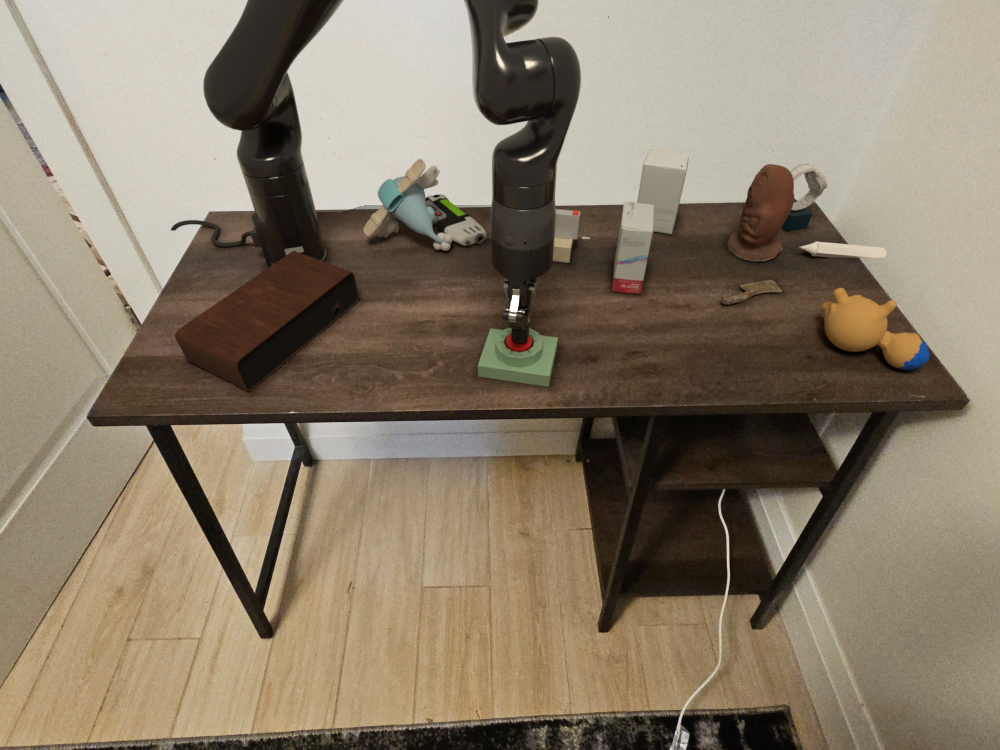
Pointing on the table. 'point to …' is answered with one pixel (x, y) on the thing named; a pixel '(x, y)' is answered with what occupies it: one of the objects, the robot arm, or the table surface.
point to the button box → (518, 359)
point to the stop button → (518, 345)
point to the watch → (816, 184)
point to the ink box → (633, 247)
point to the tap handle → (567, 223)
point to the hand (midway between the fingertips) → (520, 339)
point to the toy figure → (408, 205)
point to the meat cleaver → (752, 291)
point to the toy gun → (455, 221)
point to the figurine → (764, 214)
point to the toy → (871, 330)
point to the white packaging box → (663, 185)
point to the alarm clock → (268, 319)
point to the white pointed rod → (844, 250)
